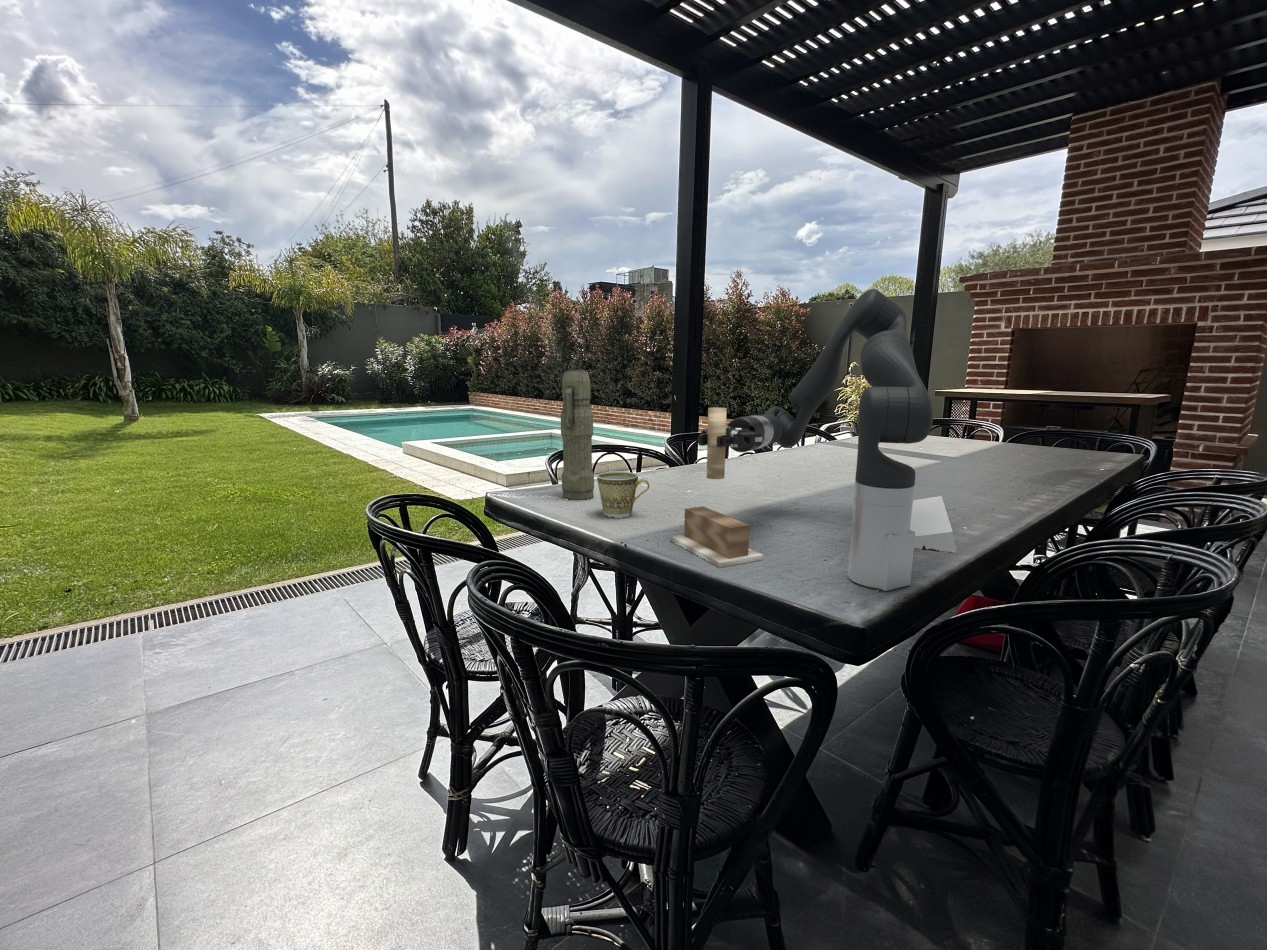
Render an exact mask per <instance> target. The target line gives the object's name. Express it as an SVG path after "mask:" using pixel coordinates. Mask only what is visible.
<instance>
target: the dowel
mask: <svg viewBox="0 0 1267 950" xmlns="http://www.w3.org/2000/svg"><path fill="white" fill-rule="evenodd" d="M707 409H708V411H707V428H708V440H707V445H706V446H707V448H706V479H709V480H723V479H725V475H726V474H725V473H726V471H725V469H726V447H721V448H720V447H717V437H718V436H721V435H726V426H727V407H717V406H716V407H708V408H707Z"/></svg>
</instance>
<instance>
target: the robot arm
mask: <svg viewBox="0 0 1267 950" xmlns="http://www.w3.org/2000/svg"><path fill="white" fill-rule="evenodd" d="M907 324H908V323H907V315H906V311H904V309H903V308H902V307H901V306H900V305H898V304H897V303H896V302H895V301H893V300H892V299H891V298H889V296H887V295H885V294H884V293H882V292H881V291H880V290H878V289H877V288H871V289H868V290H866V291H864V292H863V293H861V295H860V296H858V297H857V298H856V300H855V301H854V302H853V304H851V306H850V307H849V309H848V310H847V311H846V313H845V315H844V317H843V318H842V319H841V321H840V323H838V325H837V327H836V329H835V330H834V332H833V333H832V335H831V336H830V338H829V340H828V341H827V342H826V345H825V346H824V348H823V350H822V351H821V353H819V355H818V357H817V359H816V360H815V362H814V363H813V364H812V366H811V368H810V369H809V370H808V372H807V373H806V374H804V376H803V377H802V378H801V380H800V381H799V383H797V385H796V386H795V387H794V388H793V389H792V391H791V392H790V393H789V396H788V399H789V401H790V403H791V404H792V406H793V407H794V408H795V410H796V415H795V417H794V416H793V415H791V414H790V413H789V412H788V411H786V410H785V409H784V408H783V407H780V406H778V405H777V406H774V405H773V406H771V407H770V408H769V409H768V410H767V411H765V413H764V414H761V415H757V414H756V415H755V414H754V415H747V416H741V417H740V416H739V417H735V418H734V419H732V420H731V421H730V422H729V423H728V424H726V435H721V436H718V437H717V447H720V448H721V447H725V448H726V447H729V448H730V449H731V450H733V451H734V452H737V453H747V452H751V451H755V450H759V449H762V448H764V447H767V446H771V445H774V444H776V443H777V444H778V445H779V446H780V447H782V448H784V449H791V448H792V447H795V446H796V445H797V444H799V442H800V441H801V439H802V438H803V435H804V434H805V431H806V429H807V427H808V424H809V422H810V421H811V419H812V417H813V415H814V414H815V412H816V410H817V409H818V408H819V407H820V405H821V404H822V403H823V402H824V401H825V400H826V398H827V397H829V395H830V394H831V392H832V391H833V389H834V388H835V385H836V384H837V382H838V377H839V375H840V368H841V361H842V356H843V352H844V349H845V346H846V345H847V342H848V339H849V338H850V337H851V335H852V334H853V332H854V331H855V332H856V333H858V334H859V335H860V336H862V337H863V338H864V339H866V342H865V343H864V345H863V346H862V348H861V352H860V365H861V366H860V367H861V373H862V376H863V378H864V380H865V381H866V382H867V384H869V385H870V386H868V387H866V388H865V389H864V390H863V391H862V393H861V396H860V399H859V406H858V418H857V419H858V421H857V422H858V425H857V427H858V428H857V430H858V431H857V433H858V435H857V457H856V469H855V479H854V490H853V492H854V494H853V503H852V504H853V505H852V514H851V515H852V516H851V530H850V531H851V532H850V543H849V555H848V557H849V559H848V570H847V573H848V574H847V577H848V579H849V580H851V582H853V583H856V584H858V585H861V586H864V587H868V588H873V589H878V590H881V591H884V592H887V591H891V590H895V589H896V590H897V589H899V588H903V587H907V586H911V580H912V570H913V561H914V551H915V549H914V543H915V532H914V531H913V530H910V527H911V516H912V505H913V500H914V496H915V495H914V493H915V484H916V470H915V469H914V468H913V467H912V466H911V465H909V464H906V463H903V462H900V461H898V460H896V459H893V458H891V457H889V456H887V455H886V454H885V453H883V452H882V451H881V450H880V449H879V445H880V444H881V443H882V444H916V443H920V442H922V441H924V440H925V439H927V437H928V436H929V435H930V432H931V430H932V426H933V423H934V422H933V420H934V412H933V405H932V400H931V397H930V394H929V392H928V390H927V388H926V386H925V383H924V382H923V381H922V378H921V377H920V375H919V373H918V370H917V366H916V361H915V356H914V353H913V350H912V346H911V344H910V341H909V336H908V333H907V332H908V331H907ZM707 440H708V427H706V428H704V429H702V430H701V431H700V434H699V435H698V436H697V444H698V445H699V446H707Z"/></svg>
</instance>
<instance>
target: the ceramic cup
mask: <svg viewBox="0 0 1267 950" xmlns="http://www.w3.org/2000/svg"><path fill="white" fill-rule="evenodd" d="M596 478H597V479H596V480H597V487H598V491H599V494H600V501H601V506H602V511H603V515H604V516H605V515H606V516H608V517H614V518H613V519H617V518H620V519H624V518H623V517H627V518H630V517H631V516H632V513H633V509H634V503H635V502H636V500H637V499H638V498H640V497H641V496H642V495H643V494H644V493H646V492H647V491H648V490H649V489H650V484H649V481H648V480H647V479H639V475H638V473H634V472H629V471H608V472H602V473H599V474H597V475H596ZM638 479H639V480H638ZM641 483H645V484H646V485H647V487H646V488H645V489H644V490H643V491H642V492H640V493H639V494H638V495H637V496H636V492H637V488H638V486H639V485H640V484H641ZM630 515H631V516H630ZM606 516H605V517H606ZM629 516H630V517H629ZM608 517H607V518H608Z"/></svg>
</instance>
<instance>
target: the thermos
mask: <svg viewBox="0 0 1267 950" xmlns="http://www.w3.org/2000/svg"><path fill="white" fill-rule="evenodd" d="M561 391H562V393H561V395H562V401H563V404H562V409H561V413H560V435H561V437H562V454H563V456H562V457H563V461H562V463H563V464H562V465H563V467H562V468H563V470H562V474H561V491H562V499H563V498H565V499H568V500H567V501H569V500H586V501H588V500H587V499H590V500H592V499H591V498H593V497H594V498H595V495H594V490H595V473H594V471H593V459H592V458H593V453H592V452H593V451H592V449H593V448H592V446H593V445H592V443H593V442H592V440H593V439H592V437H594V436H593V435H594V414H593V411H592V407H591V399H592V398H591V397H592V396H591V392H592V391H591V378H590V376H589V373H588V371H587V370H585V369H567V370H565V371H564V373H563V376H562V381H561ZM594 498H593V499H594Z"/></svg>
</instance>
